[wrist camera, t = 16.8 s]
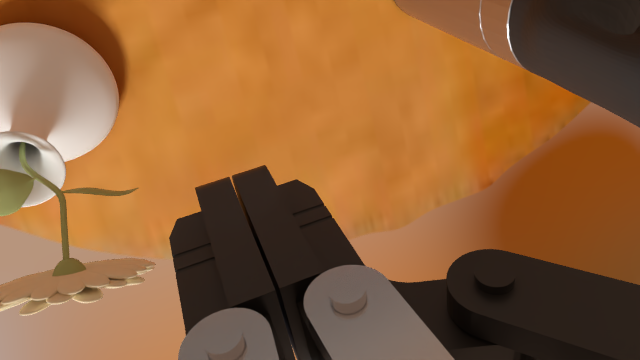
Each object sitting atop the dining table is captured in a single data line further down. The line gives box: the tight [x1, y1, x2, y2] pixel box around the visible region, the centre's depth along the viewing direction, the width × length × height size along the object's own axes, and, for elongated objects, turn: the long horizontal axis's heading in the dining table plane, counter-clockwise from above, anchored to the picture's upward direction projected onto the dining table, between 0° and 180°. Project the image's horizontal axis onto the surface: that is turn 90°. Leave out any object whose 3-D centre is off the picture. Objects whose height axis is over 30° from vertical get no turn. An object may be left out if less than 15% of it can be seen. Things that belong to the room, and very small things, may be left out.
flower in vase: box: [0, 23, 155, 316], centre depth 31 cm, size 13×11×25 cm
